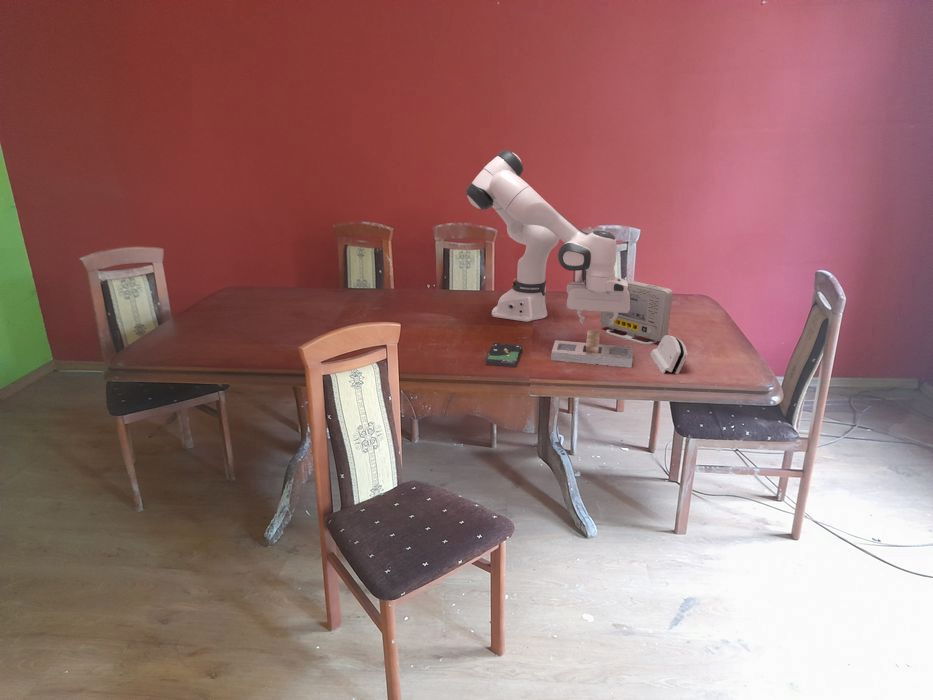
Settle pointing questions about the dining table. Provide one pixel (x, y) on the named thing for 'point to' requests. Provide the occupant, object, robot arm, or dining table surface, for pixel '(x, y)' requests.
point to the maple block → (592, 341)
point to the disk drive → (504, 355)
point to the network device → (643, 313)
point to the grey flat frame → (592, 354)
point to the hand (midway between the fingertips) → (596, 323)
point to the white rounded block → (669, 354)
